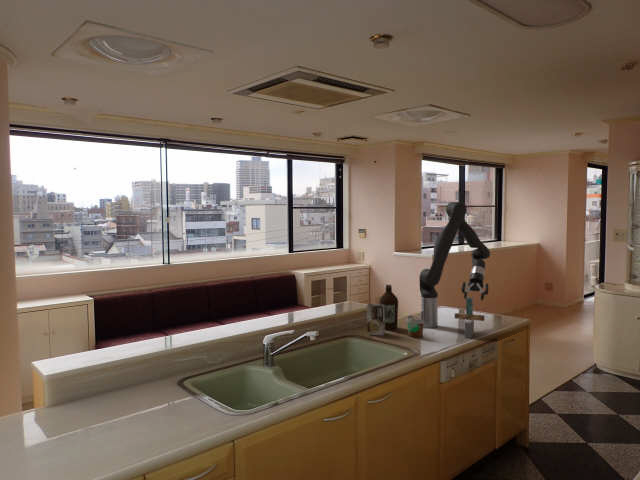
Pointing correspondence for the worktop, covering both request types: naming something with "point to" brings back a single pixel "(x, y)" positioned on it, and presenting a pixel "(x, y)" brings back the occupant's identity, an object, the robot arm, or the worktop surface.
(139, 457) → the worktop surface
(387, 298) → the olive oil
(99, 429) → the worktop surface
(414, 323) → the food container
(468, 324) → the block
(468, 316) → the beam
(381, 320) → the coffee box
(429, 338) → the worktop surface
